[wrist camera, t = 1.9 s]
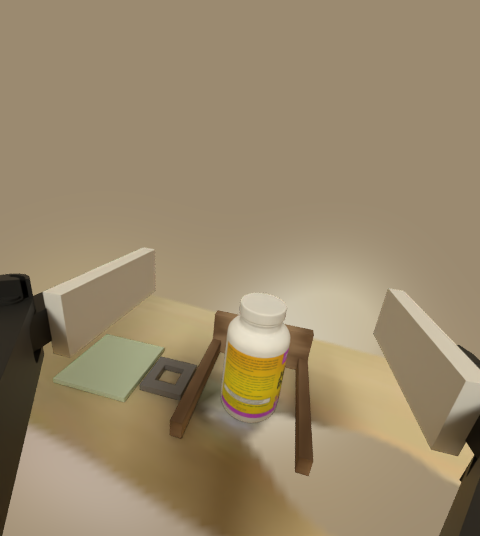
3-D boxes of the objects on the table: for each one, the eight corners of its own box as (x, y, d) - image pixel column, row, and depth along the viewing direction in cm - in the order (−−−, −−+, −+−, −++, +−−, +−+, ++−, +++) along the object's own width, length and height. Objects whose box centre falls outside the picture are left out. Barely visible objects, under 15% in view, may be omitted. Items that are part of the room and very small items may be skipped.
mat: (53, 382, 29) (52, 378, 29) (107, 337, 38) (106, 333, 38) (124, 402, 28) (124, 398, 28) (164, 351, 36) (164, 347, 36)
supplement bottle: (280, 428, 27) (304, 324, 23) (217, 423, 27) (229, 317, 22) (273, 380, 33) (290, 291, 29) (222, 376, 33) (232, 285, 29)
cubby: (169, 435, 25) (170, 387, 23) (214, 345, 39) (217, 310, 37) (308, 476, 23) (323, 428, 21) (304, 365, 37) (313, 330, 35)
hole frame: (139, 389, 30) (139, 384, 30) (160, 361, 34) (160, 356, 34) (180, 400, 29) (180, 395, 29) (196, 370, 34) (196, 365, 33)
